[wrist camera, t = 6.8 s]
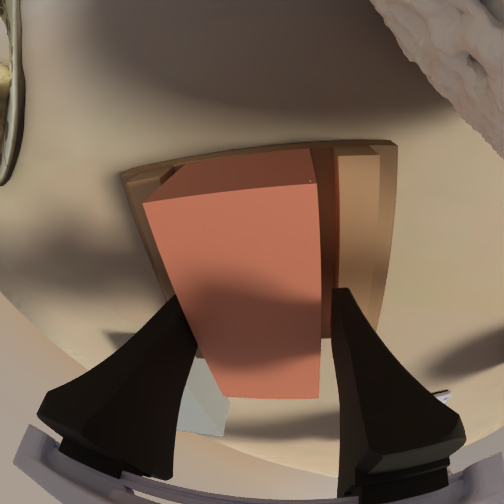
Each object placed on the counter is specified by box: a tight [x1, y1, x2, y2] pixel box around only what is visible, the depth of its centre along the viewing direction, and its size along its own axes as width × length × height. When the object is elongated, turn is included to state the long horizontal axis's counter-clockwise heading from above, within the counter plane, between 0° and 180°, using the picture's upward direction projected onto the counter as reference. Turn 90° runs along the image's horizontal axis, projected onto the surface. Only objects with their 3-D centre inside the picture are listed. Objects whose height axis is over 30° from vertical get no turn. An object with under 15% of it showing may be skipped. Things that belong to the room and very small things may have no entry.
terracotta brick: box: [142, 148, 321, 399], centre depth 12 cm, size 11×5×4 cm, turn 9°
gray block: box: [176, 356, 230, 436], centre depth 21 cm, size 10×5×4 cm, turn 9°
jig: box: [121, 140, 398, 359], centre depth 14 cm, size 11×12×2 cm
